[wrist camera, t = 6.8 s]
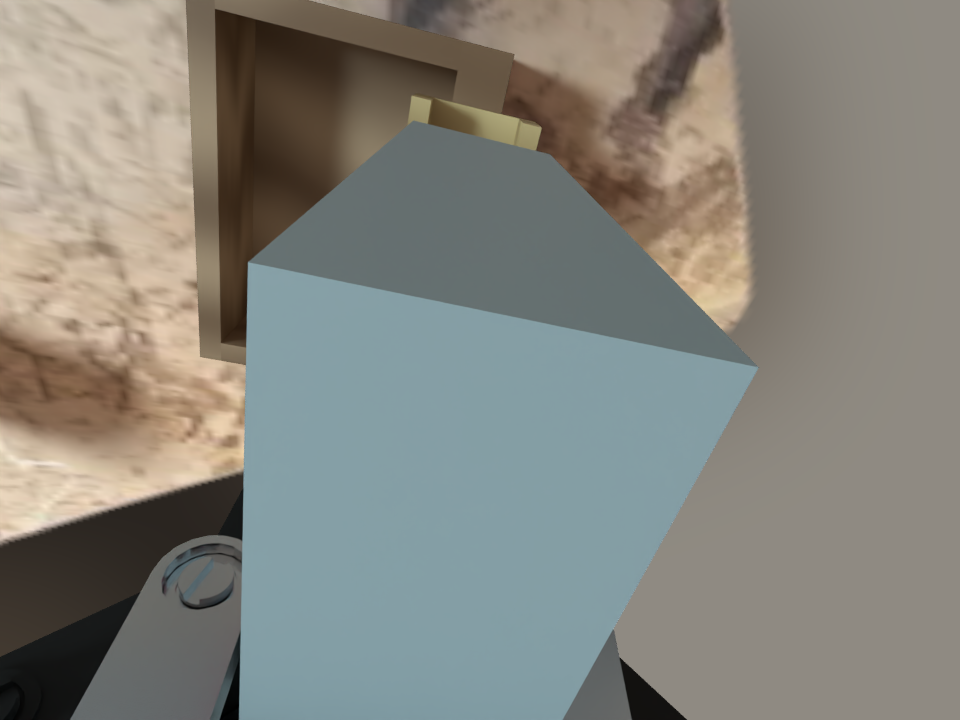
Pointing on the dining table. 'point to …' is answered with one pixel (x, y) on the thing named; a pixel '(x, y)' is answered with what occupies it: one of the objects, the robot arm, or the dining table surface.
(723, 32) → the dining table surface
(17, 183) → the dining table surface
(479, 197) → the door
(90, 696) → the robot arm
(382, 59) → the carcass
